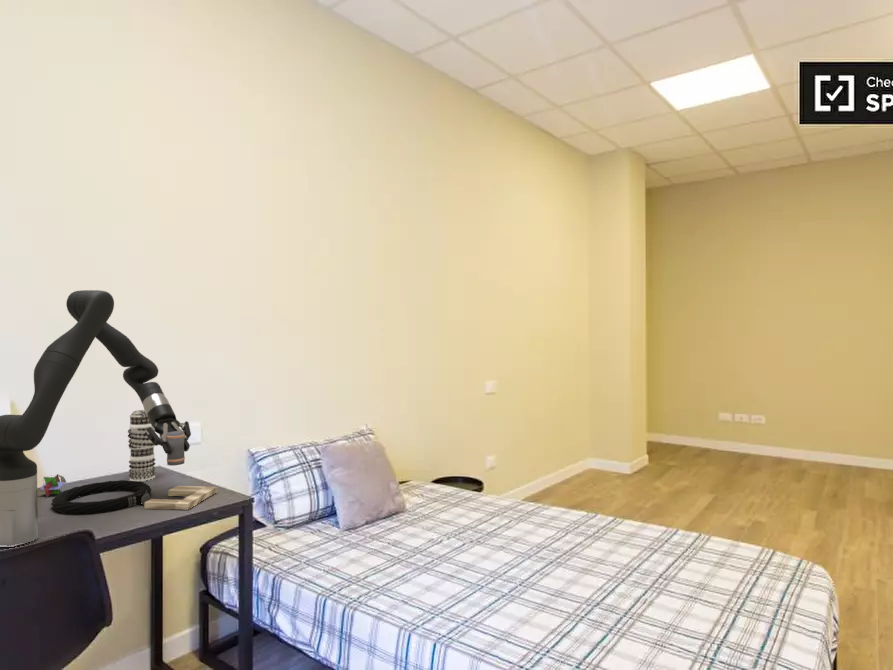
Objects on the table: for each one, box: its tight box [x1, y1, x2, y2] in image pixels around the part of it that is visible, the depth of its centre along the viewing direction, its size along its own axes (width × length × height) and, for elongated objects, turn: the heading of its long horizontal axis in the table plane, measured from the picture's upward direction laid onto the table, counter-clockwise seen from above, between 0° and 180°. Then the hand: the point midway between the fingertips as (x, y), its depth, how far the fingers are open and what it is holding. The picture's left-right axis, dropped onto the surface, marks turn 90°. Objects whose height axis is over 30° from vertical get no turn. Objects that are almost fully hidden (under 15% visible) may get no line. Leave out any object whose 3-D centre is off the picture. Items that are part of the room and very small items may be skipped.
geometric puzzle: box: [37, 473, 67, 498], centre depth 188 cm, size 7×7×8 cm
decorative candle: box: [127, 409, 157, 482], centre depth 209 cm, size 9×9×25 cm
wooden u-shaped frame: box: [143, 485, 218, 511], centre depth 183 cm, size 18×14×2 cm
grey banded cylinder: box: [166, 430, 186, 467], centre depth 182 cm, size 5×5×10 cm
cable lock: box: [50, 479, 152, 515], centre depth 182 cm, size 28×4×30 cm
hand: (178, 451), depth 181 cm, fingers closed on grey banded cylinder, 5 cm apart
